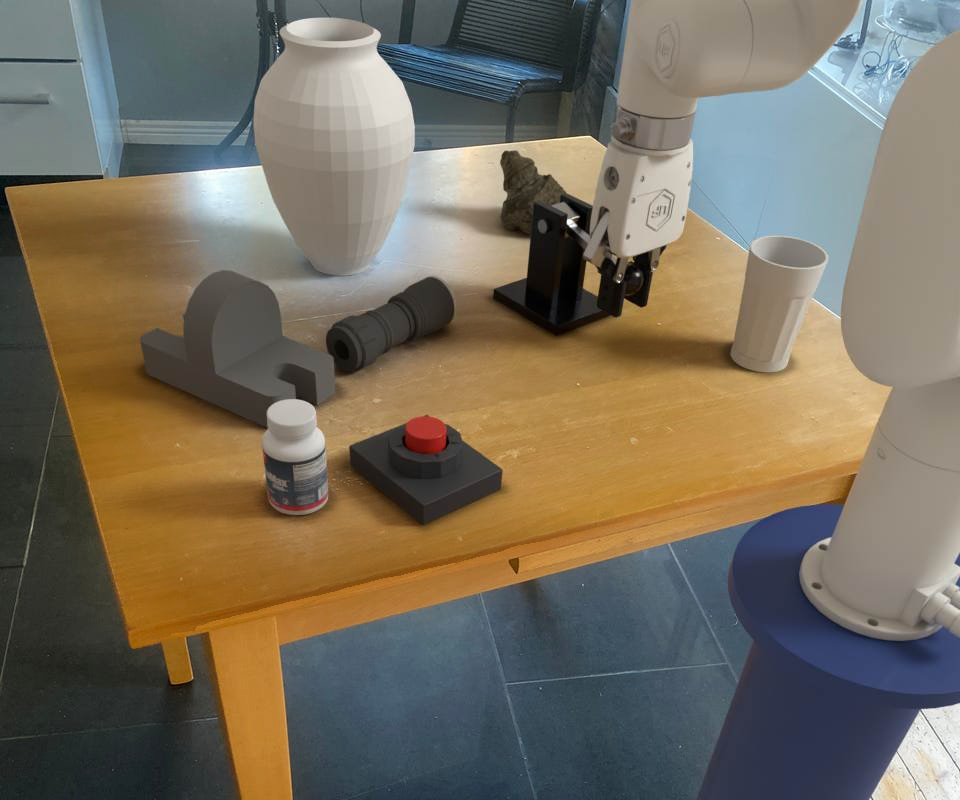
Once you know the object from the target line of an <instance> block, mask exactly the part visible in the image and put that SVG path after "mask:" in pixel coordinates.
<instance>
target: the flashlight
mask: <svg viewBox="0 0 960 800" xmlns="http://www.w3.org/2000/svg"><path fill="white" fill-rule="evenodd" d="M457 308H458V306H457V299H456V296H455V292H454V291H453V289H452V288H451V287H450V285H449V283H448V282H447V281H445V280H444V279H443V278H442V277H439V276H437V275H429V276H426V277H425V278H422V279H420V280H418V281H416V282H414V283H412V284H410V285H409V286H407V287H406V288H405V289H404V290H403V291H401V292H399V293H397V294H395V295H393V296H391V297H390V298H389V299H388V300H387V302H386V303H385V304H383V305H381V306H379V307H376V308H375V309H372V310H371V309H370V310H367V311H365V312H363V313H361V314H358V315H349V316H346V317H344V318H342V319H340V320H338V321H336V322H335V323H333V324H332V325H331V328H330V329H328V330H327V332H326V336H325V345H326V349H327V352H328V354H330V355H331V356H333V358H334V365H336V366H337V367H338V368H340V369H341V370H342V371H345V372H358V371H360V370H363V369H365V368H367V367H369V366H370V365H372V364H374V363H375V362H376V360H377V359H378V358H379V357H381V356H382V355H384V354H385V353H388V352H389V351H390V350H391V349H392V348H394V347H396V346H398V345H400V344H401V343H403V342H414V341H415V340H417V339H419V338H421V337H423V336H424V335H425V336H426V335H430V334H433V333H434V332H436V331H439V330H440V329H442V328H444V327H447V326H448V325H450V324H451V323H452V322H454V320H455V318H456V315H457V310H458V309H457Z"/></svg>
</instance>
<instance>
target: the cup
mask: <svg viewBox="0 0 960 800" xmlns="http://www.w3.org/2000/svg"><path fill="white" fill-rule="evenodd" d="M746 261H747V262H746V268H745V274H744V282H743V288H742V293H741V298H740V305H739V310H738V316H737V320H736V326H735V332H734V338H733V341H732V345H731V349H730V358H731V359H732V361H733V362H735V363H736V364H737V365H738V366H740V367H742V368H744V369H747V370H750V371H752V372H753V371H754V372H758V373H777V372H781V371H783V370H784V369H786V368H787V366H788V363H789V360H790V358H791V354H792V351H793V347H794V345H795V343H796V341H797V337H798V335H799V332H800V330H801V328H802V325H803V323H804V320H805V317H806V315H807V312H808V310H809V307H810V305H811V302H812V300H813V297H814V294H815V291H817V288H818V286H819V284H820V281H821V279H822V277H823V274H824V272H825V269H826V266H827V265H828V262H829V254H828V253H827V252H826V251H825V250H824V248H822V247H820V246H819V245H818V244H815V243H814V242H811V241H809V240H805V239H803V238H799V237H794V236H788V235H787V236H786V235H765V236H760V237H758V238H755V239H754V240H752V241H751V243H750V244H749V250H748V256H747V260H746Z"/></svg>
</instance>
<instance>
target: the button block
mask: <svg viewBox="0 0 960 800" xmlns="http://www.w3.org/2000/svg"><path fill="white" fill-rule="evenodd" d="M424 416H427V417H430V416H429V415H428V414H426V415H424ZM407 423H408V422H406V423H403V424H400V425H398V426H395V427H393V428H391V429H388V430H385V431H382V432H381V433H378V434H375V435H373V436H370V437H367V438H365V439H363V440H360V441H358V442H355V443H353V444H351V445H349V446H348V449H349V466H350V467H351V468H353V470H355V471H356V472H357V473H358V474H360V475H361V476H362V477H364V478H365V480H367V481H368V482H370V483H371V484H372V485H373V486H374V487H376V488H377V489H378V490H379V491H381V492H382V493H383V494H384V495H385V496H387V497H388V498H389V499H390V500H391V501H392V502H394V503H395V505H397V506H399V507H400V508H401V509H403V511H405V512H406V513H407V514H408V515H410V516H411V517H412V518H414V519H415V520H416V522H418V523H419V524H421V526H426V525H428V524H429V523H432V522H434V521H436V520H438V519H441V518H442V517H445V516H446V515H447V516H448V514H451V513H454V512H455V511H457V510H460V509H462V508H464V507H467V506H468V505H470V504H472V503H474V502H476V501H479V500H481V499H483V498H485V497H487V496H489V495H492V494H494V493H496V492H498V491H500V490H501V489H502V484H503V483H502V481H503V471H504V469H503V468H501V467H500V466H498V464H496V463H495V462H493V461H492V460H490V459H489V458H487V457H486V456H485V455H483V454H482V453H481V452H479V451H478V450H477V449H475V448H474V447H473V446H471V445H470V444H468V443H467V442H466V441H464V440H463V438H462V435H461V433H460V431H458V430H457V429H455V428H454V427H453V426H451V425H450V424H447V423H444V424H445V425H446V446H445V448H444V449H443V450H442V451H440V452H438V453H436V454H420V453H416V452H412V451H410V450H409V449H408V448H407V447H406V444H405V427H406V424H407Z"/></svg>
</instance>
